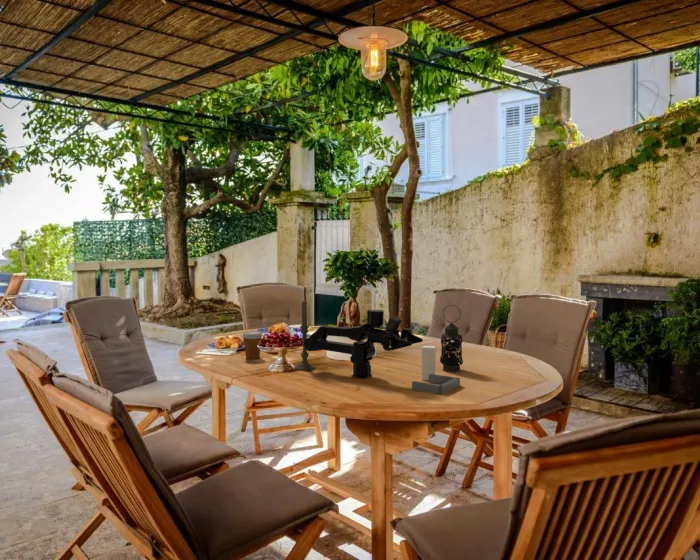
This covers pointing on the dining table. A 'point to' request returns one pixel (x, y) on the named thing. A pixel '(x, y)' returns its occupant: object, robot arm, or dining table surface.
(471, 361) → the dining table surface
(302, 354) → the candlestick holder
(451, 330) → the lantern
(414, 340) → the robot arm
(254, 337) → the disposable coffee cup
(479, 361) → the dining table surface
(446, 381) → the frame
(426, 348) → the post
